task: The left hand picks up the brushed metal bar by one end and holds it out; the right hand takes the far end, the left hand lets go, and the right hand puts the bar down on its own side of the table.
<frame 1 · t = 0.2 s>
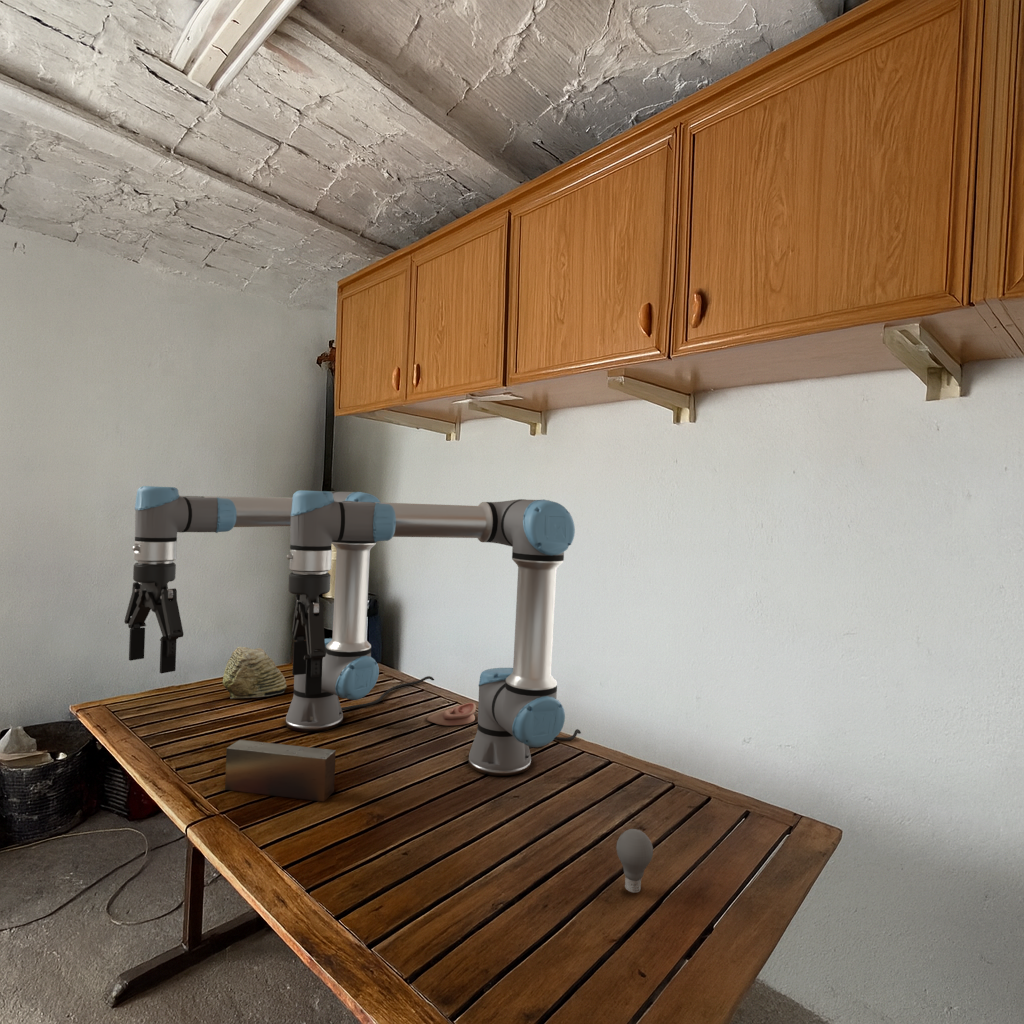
left hand: (151, 665, 129), 27 cm above the table, tool pointing down, fingers open, 13 cm apart
right hand: (306, 683, 120), 28 cm above the table, tool pointing down, fingers open, 13 cm apart
anatomical model: (451, 719, 184), on the table
fossil: (254, 694, 198), on the table
bar: (279, 790, 136), on the table
light bulb: (632, 891, 106), on the table
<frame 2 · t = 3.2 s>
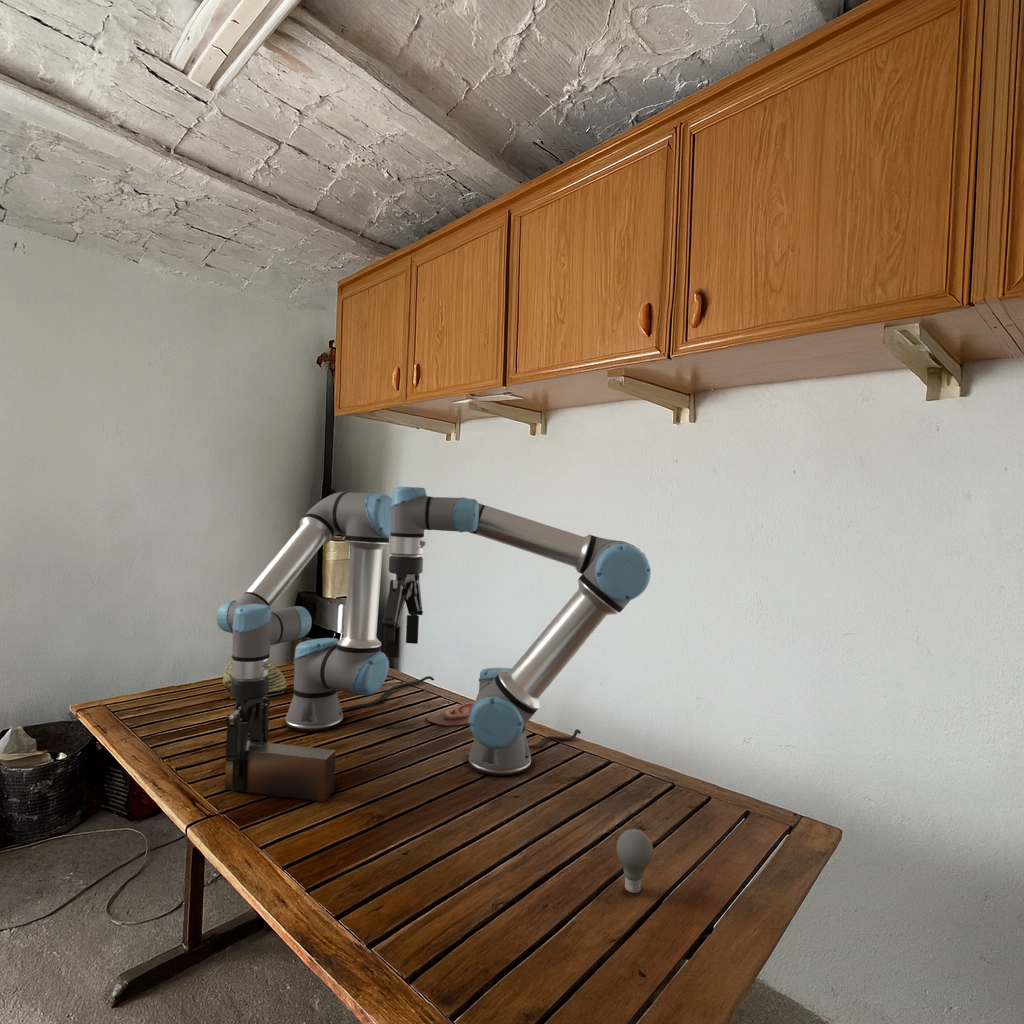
left hand: (246, 784, 137), 1 cm above the table, tool pointing down, fingers closed on bar, 5 cm apart
right hand: (402, 649, 142), 30 cm above the table, tool pointing down, fingers open, 13 cm apart
bar: (279, 790, 136), on the table, touching left hand
everything else where it was.
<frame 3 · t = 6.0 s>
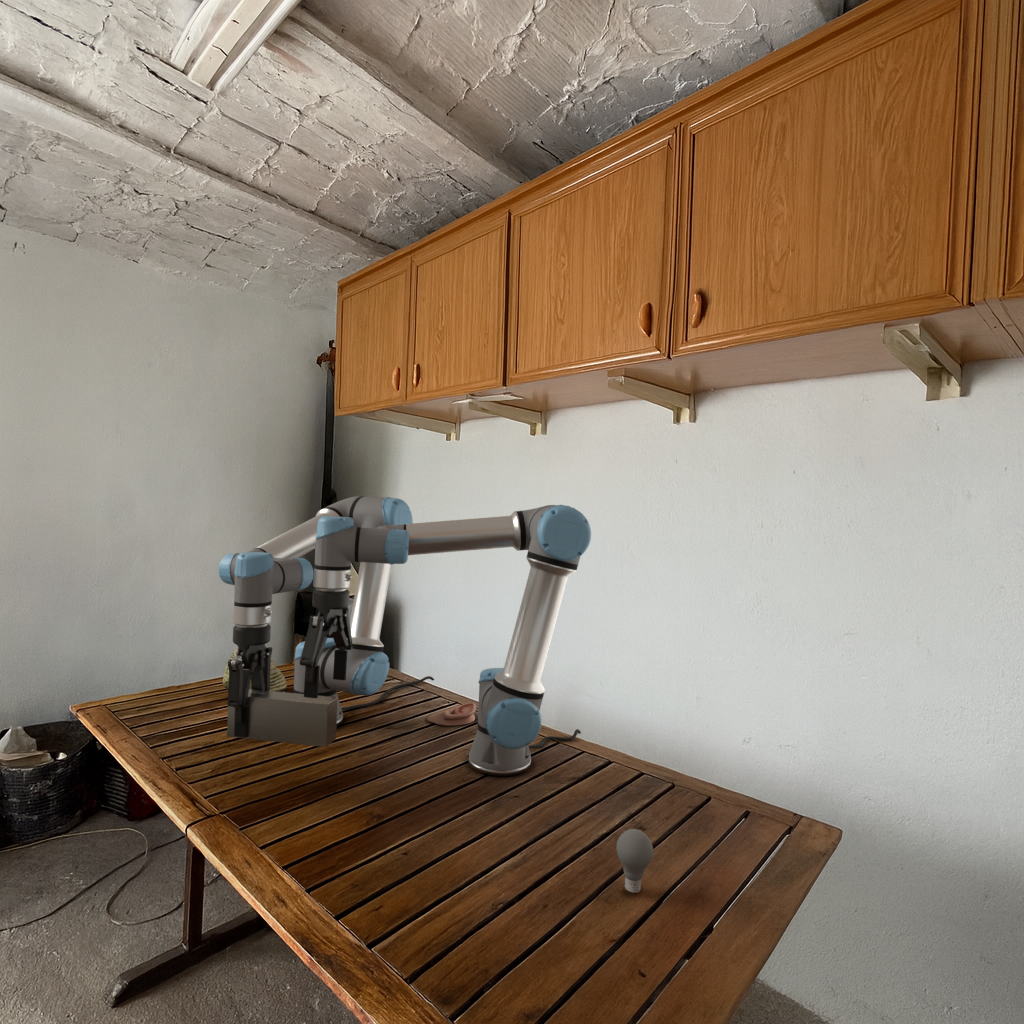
left hand: (248, 731, 137), 12 cm above the table, tool pointing down, fingers closed on bar, 5 cm apart
right hand: (325, 688, 135), 23 cm above the table, tool pointing down, fingers open, 13 cm apart
bar: (281, 737, 136), point 11 cm above the table, touching left hand
everything else where it was.
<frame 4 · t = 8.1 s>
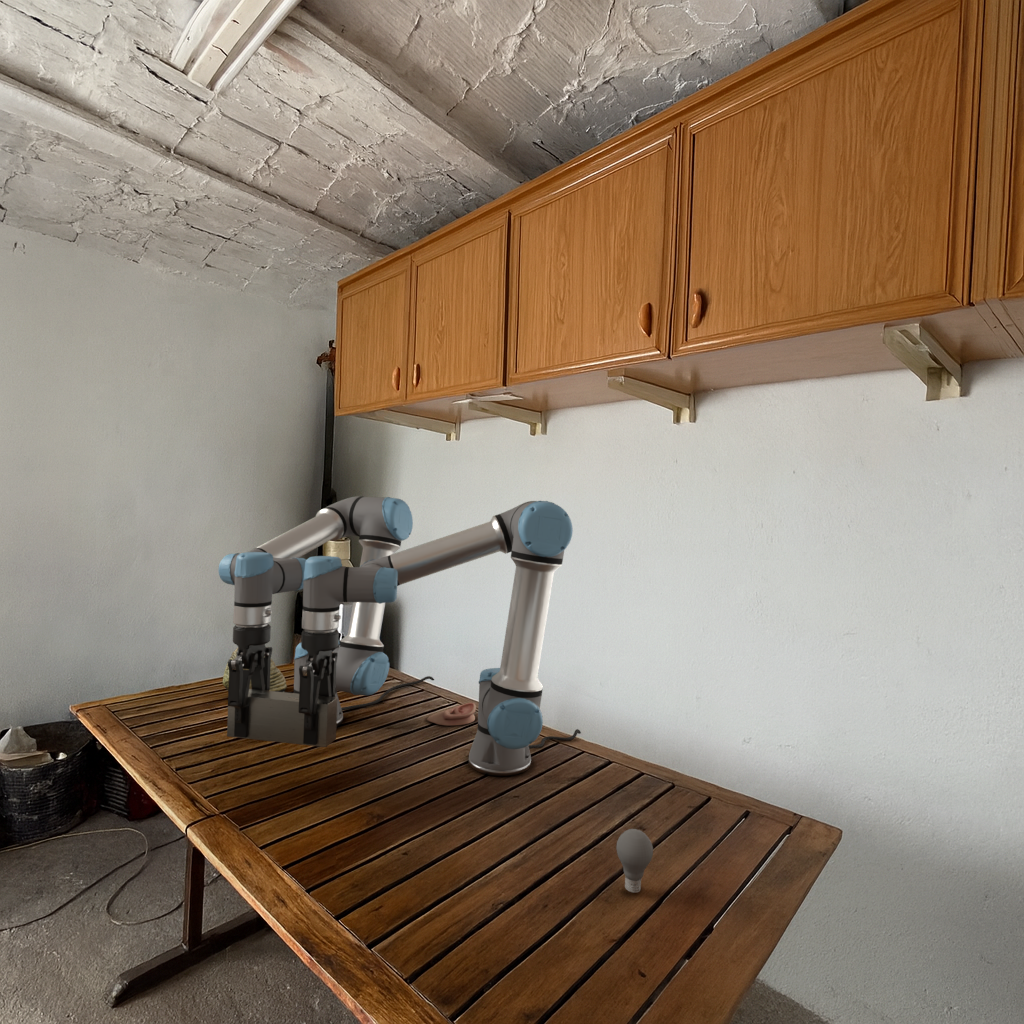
left hand: (248, 731, 137), 12 cm above the table, tool pointing down, fingers closed on bar, 5 cm apart
right hand: (316, 738, 134), 12 cm above the table, tool pointing down, fingers closed on bar, 5 cm apart
bar: (281, 737, 136), point 11 cm above the table, touching left hand, right hand
everything else where it was.
when the left hand's fingers open (12 cm above the table, at t = 8.7 s): bar stays where it is, held by the right hand.
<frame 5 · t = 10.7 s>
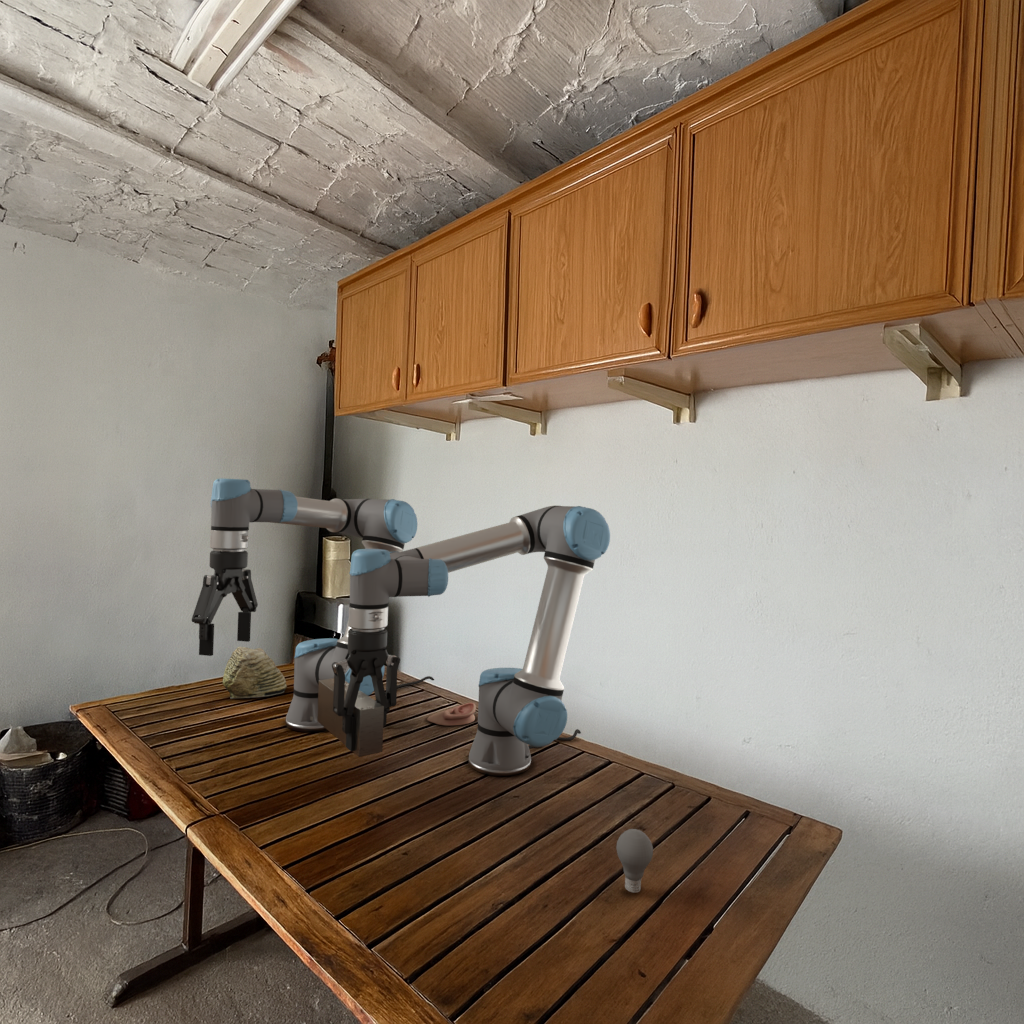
left hand: (225, 647, 137), 30 cm above the table, tool pointing down, fingers open, 13 cm apart
right hand: (363, 745, 125), 15 cm above the table, tool pointing down, fingers closed on bar, 5 cm apart
bar: (348, 735, 131), point 14 cm above the table, touching right hand
everything else where it was.
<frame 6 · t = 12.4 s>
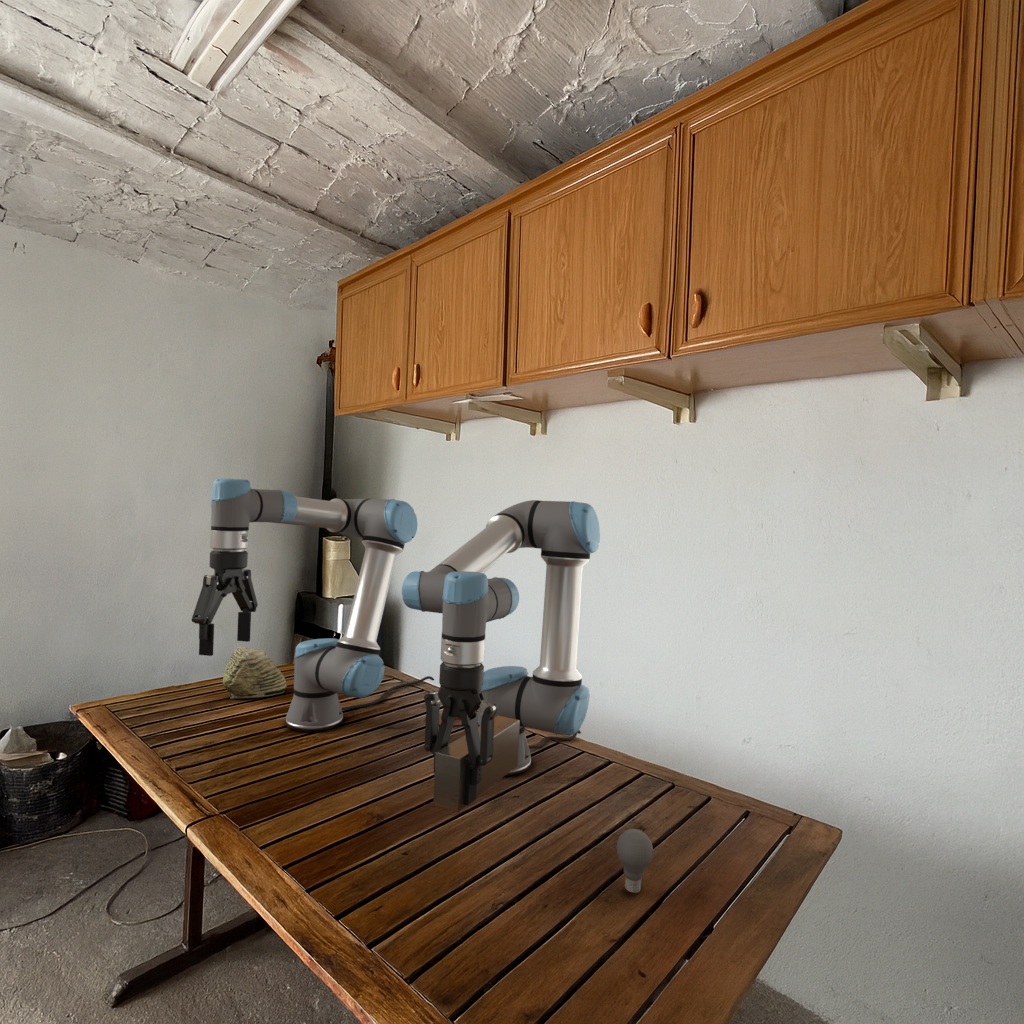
left hand: (225, 647, 137), 30 cm above the table, tool pointing down, fingers open, 13 cm apart
right hand: (455, 797, 109), 13 cm above the table, tool pointing down, fingers closed on bar, 5 cm apart
bar: (478, 783, 116), point 12 cm above the table, touching right hand
everything else where it was.
when the right hand's fingers open (2 cm above the table, at t = 13.7 s): bar drops 1 cm, on the table.
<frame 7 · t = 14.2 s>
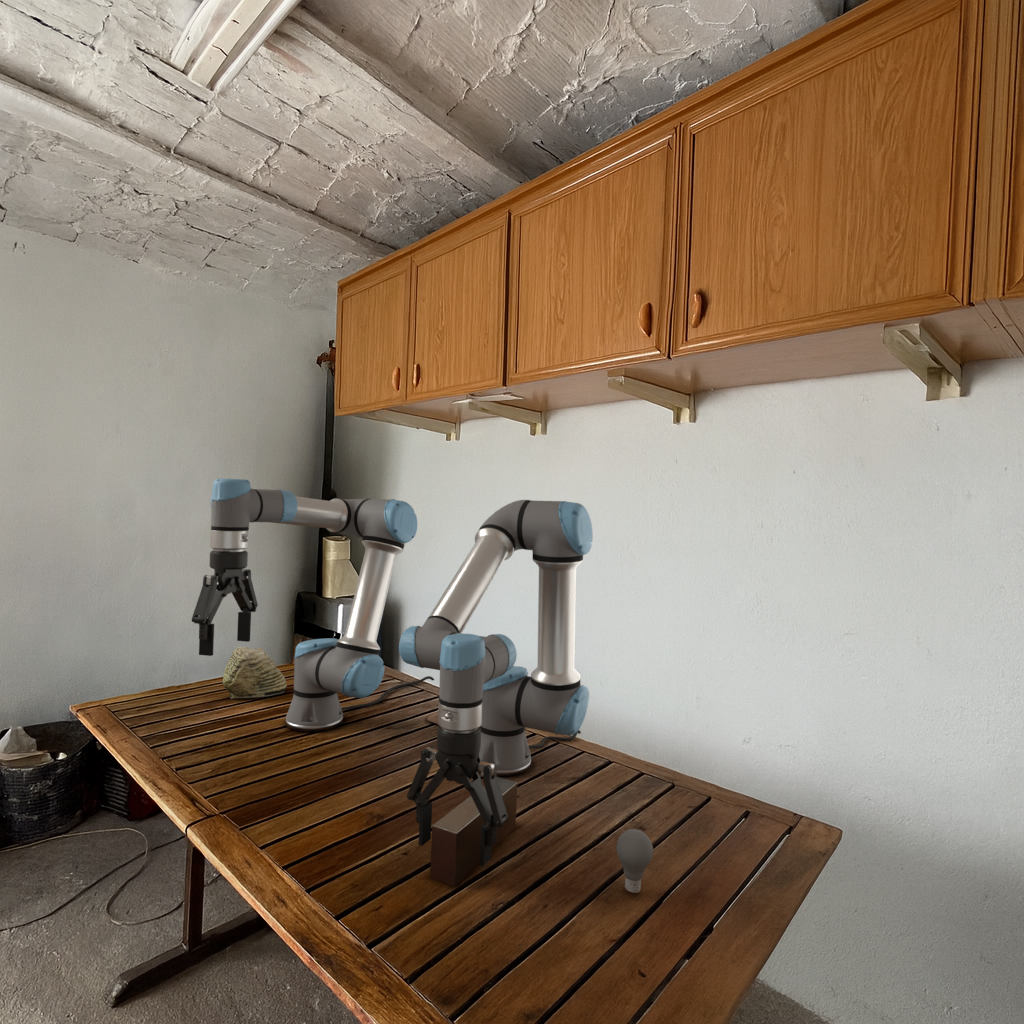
left hand: (225, 647, 137), 30 cm above the table, tool pointing down, fingers open, 13 cm apart
right hand: (454, 852, 109), 3 cm above the table, tool pointing down, fingers open, 11 cm apart
bar: (476, 850, 116), on the table
everything else where it was.
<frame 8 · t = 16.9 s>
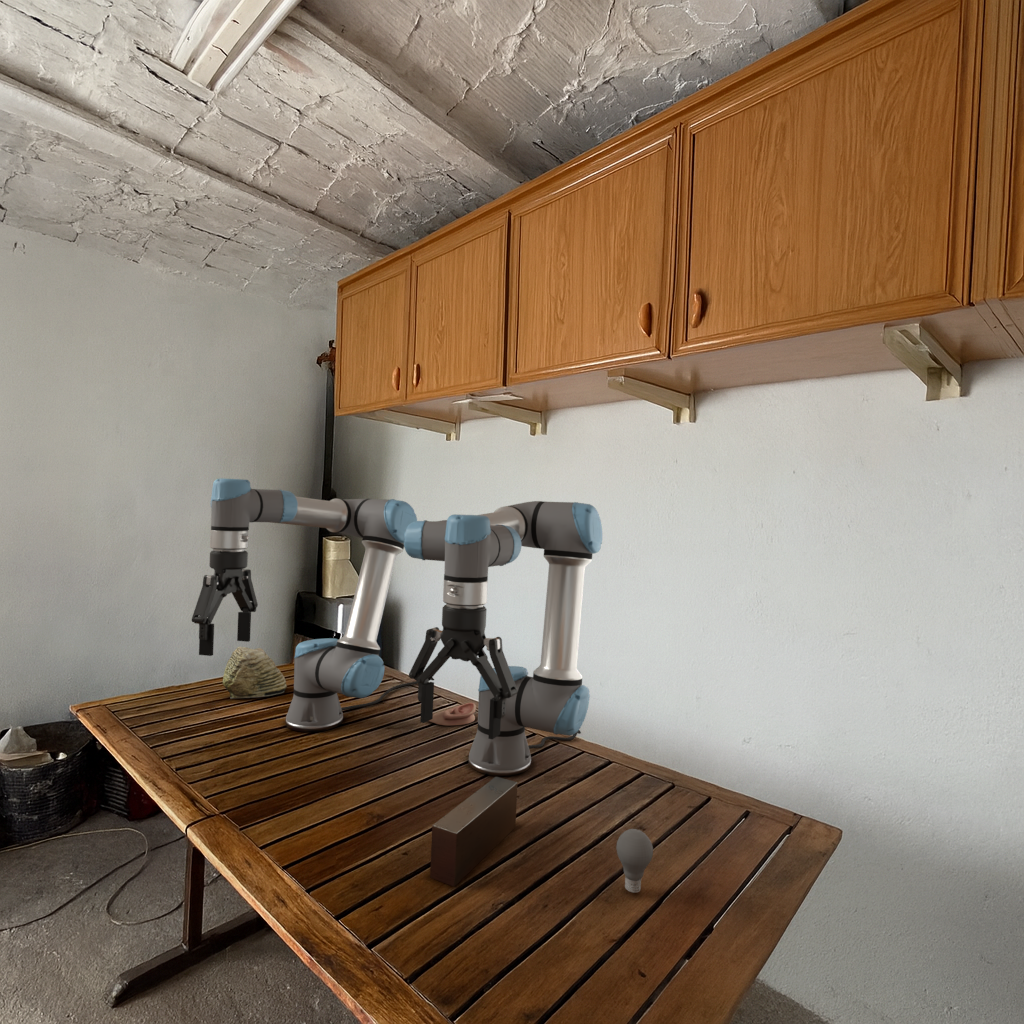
left hand: (225, 647, 137), 30 cm above the table, tool pointing down, fingers open, 13 cm apart
right hand: (459, 728, 109), 25 cm above the table, tool pointing down, fingers open, 13 cm apart
nothing on the table moved.
at the end: bar inside the target area (7.7 cm from its centre), on the table; the left hand is holding nothing; the right hand is holding nothing; bar at rest at the end (0.0 cm/s) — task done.
